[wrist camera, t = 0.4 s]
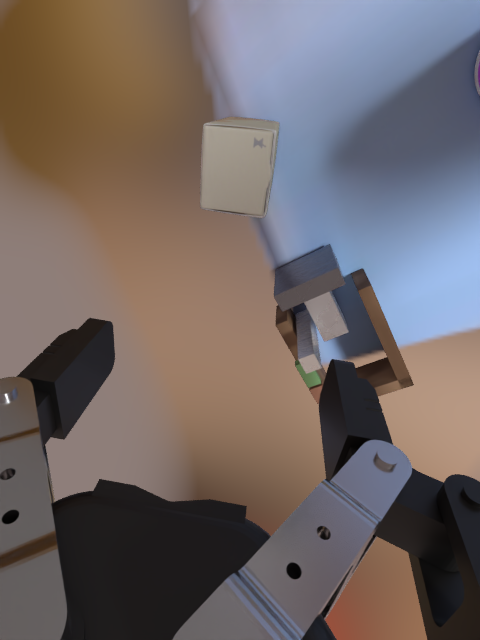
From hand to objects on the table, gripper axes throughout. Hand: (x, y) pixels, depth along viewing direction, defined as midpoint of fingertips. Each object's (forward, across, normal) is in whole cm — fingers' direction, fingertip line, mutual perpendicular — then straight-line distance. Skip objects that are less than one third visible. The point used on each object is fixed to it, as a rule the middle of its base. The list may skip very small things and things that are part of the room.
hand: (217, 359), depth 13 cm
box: (+24, +2, -5) cm, 24 cm away
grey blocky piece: (+23, -7, +6) cm, 25 cm away
